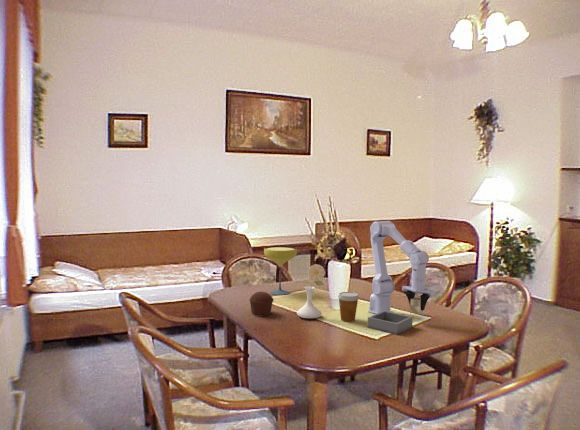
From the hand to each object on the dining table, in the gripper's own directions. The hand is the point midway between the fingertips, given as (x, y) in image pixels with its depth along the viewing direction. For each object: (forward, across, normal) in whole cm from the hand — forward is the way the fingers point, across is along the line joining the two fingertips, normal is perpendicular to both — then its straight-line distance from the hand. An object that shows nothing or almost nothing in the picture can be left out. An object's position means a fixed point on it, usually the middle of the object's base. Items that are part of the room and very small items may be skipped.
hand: (417, 309), depth 214 cm
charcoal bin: (+7, -6, -12) cm, 16 cm away
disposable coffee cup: (+7, -26, -16) cm, 31 cm away
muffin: (+7, -62, -35) cm, 71 cm away
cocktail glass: (+7, -82, +1) cm, 82 cm away
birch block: (+2, 0, 0) cm, 2 cm away
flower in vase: (+7, -41, -24) cm, 48 cm away
